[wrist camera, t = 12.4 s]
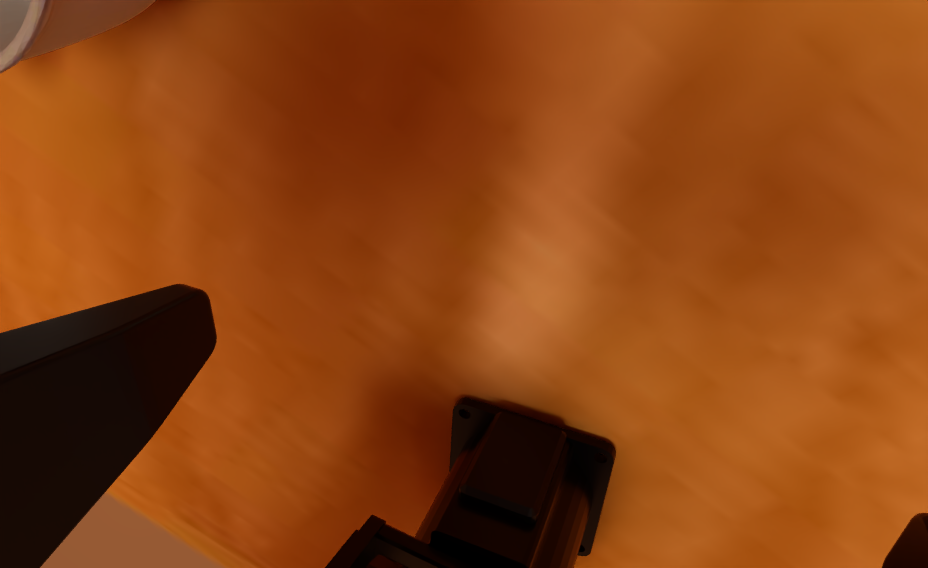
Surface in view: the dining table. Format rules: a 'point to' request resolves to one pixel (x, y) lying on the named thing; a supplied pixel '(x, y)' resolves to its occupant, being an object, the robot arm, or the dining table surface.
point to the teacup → (57, 24)
